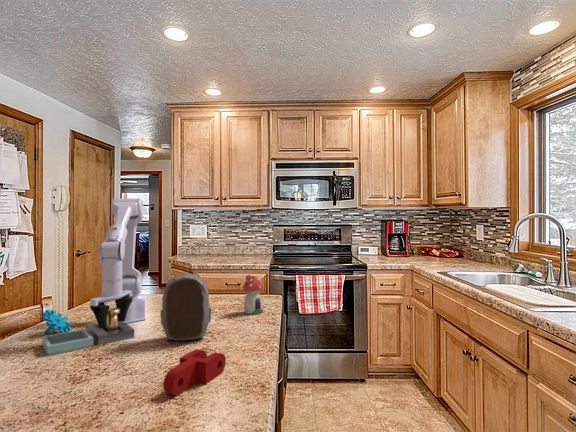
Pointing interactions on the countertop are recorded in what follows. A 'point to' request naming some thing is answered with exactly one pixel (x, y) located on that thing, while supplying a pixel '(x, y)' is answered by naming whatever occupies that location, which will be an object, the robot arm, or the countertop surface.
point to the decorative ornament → (252, 295)
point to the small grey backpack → (185, 308)
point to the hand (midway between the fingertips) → (112, 324)
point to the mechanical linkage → (194, 371)
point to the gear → (56, 322)
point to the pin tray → (66, 342)
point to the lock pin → (112, 319)
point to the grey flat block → (109, 333)
